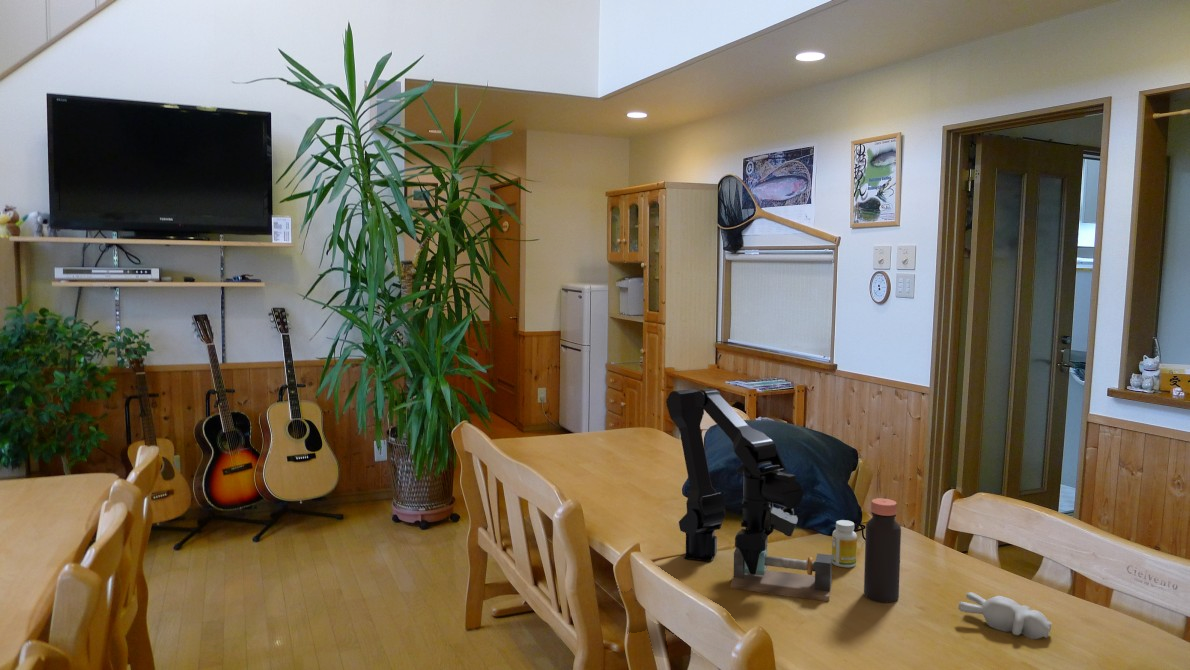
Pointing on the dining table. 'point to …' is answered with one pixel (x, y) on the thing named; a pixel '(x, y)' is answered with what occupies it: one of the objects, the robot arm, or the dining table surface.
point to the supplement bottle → (844, 544)
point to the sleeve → (759, 564)
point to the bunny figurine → (1008, 616)
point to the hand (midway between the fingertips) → (755, 567)
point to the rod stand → (787, 577)
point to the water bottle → (882, 552)
